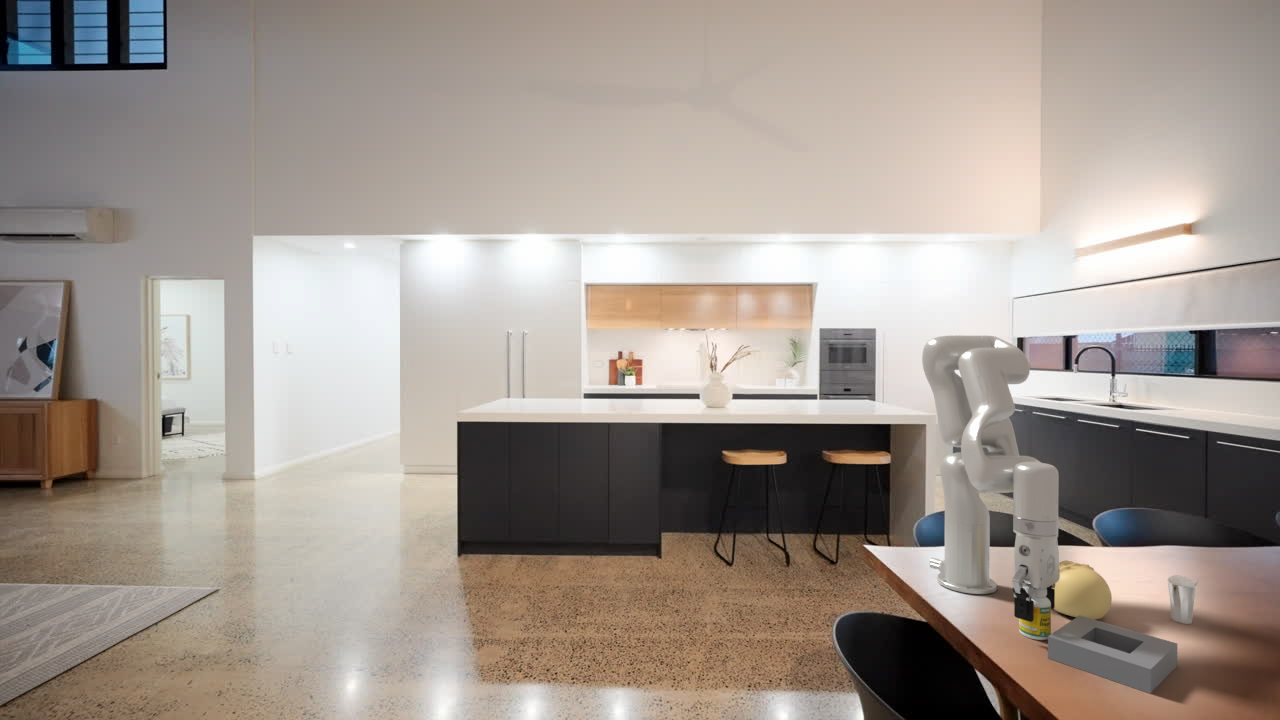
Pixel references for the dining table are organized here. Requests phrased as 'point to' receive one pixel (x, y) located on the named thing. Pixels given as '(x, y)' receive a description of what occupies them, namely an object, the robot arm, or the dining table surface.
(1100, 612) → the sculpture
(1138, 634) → the socket block
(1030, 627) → the supplement bottle
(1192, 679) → the dining table surface
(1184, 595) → the milkshake
